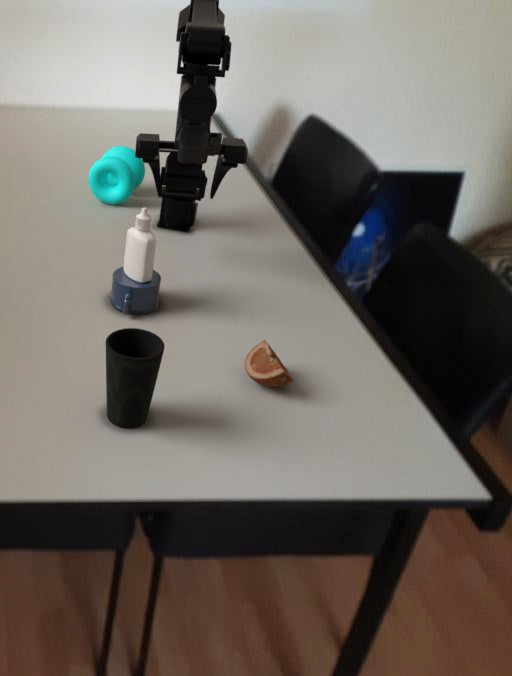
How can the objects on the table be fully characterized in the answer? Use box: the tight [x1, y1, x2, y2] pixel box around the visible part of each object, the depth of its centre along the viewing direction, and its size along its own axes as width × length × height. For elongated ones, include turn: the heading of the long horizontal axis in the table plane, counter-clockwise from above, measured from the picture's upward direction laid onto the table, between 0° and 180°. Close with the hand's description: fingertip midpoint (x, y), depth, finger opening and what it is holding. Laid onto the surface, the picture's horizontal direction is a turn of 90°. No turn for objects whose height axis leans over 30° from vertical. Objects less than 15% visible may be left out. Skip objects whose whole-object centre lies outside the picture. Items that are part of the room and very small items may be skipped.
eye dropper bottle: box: [122, 206, 157, 283], centre depth 137 cm, size 4×6×12 cm
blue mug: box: [109, 266, 162, 316], centre depth 142 cm, size 10×8×5 cm
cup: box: [105, 327, 165, 430], centre depth 114 cm, size 8×8×12 cm
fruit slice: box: [244, 339, 294, 388], centre depth 124 cm, size 8×7×5 cm
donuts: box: [88, 145, 146, 205], centre depth 178 cm, size 10×10×10 cm
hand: (185, 196), depth 149 cm, fingers open, 9 cm apart
